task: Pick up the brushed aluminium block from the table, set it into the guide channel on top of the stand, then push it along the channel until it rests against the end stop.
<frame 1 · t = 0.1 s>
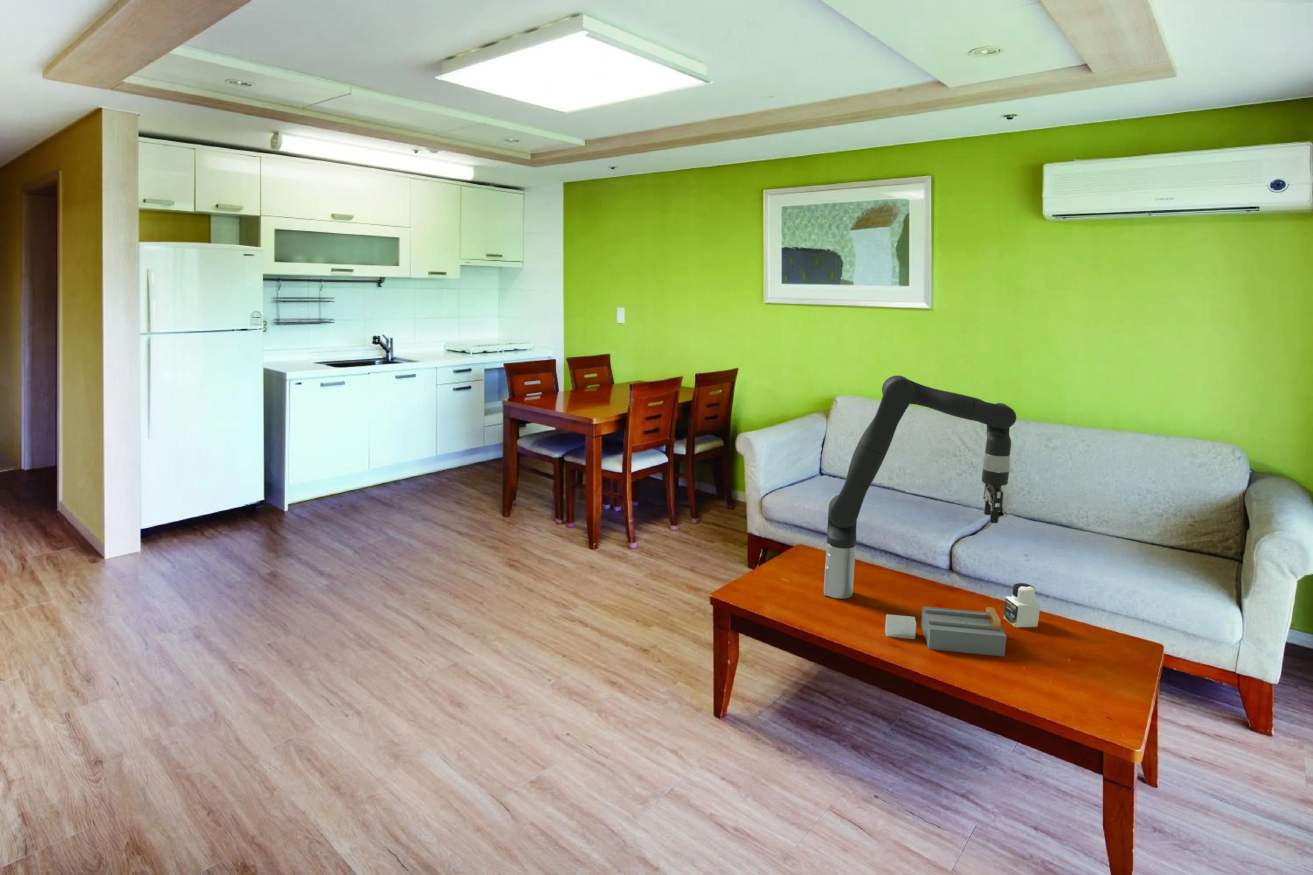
hand: (990, 518, 241), 29 cm above the table, tool pointing down, fingers open, 8 cm apart
channel stand: (961, 640, 223), on the table
aluminium block: (899, 634, 226), on the table
medicine bottle: (1020, 623, 235), on the table
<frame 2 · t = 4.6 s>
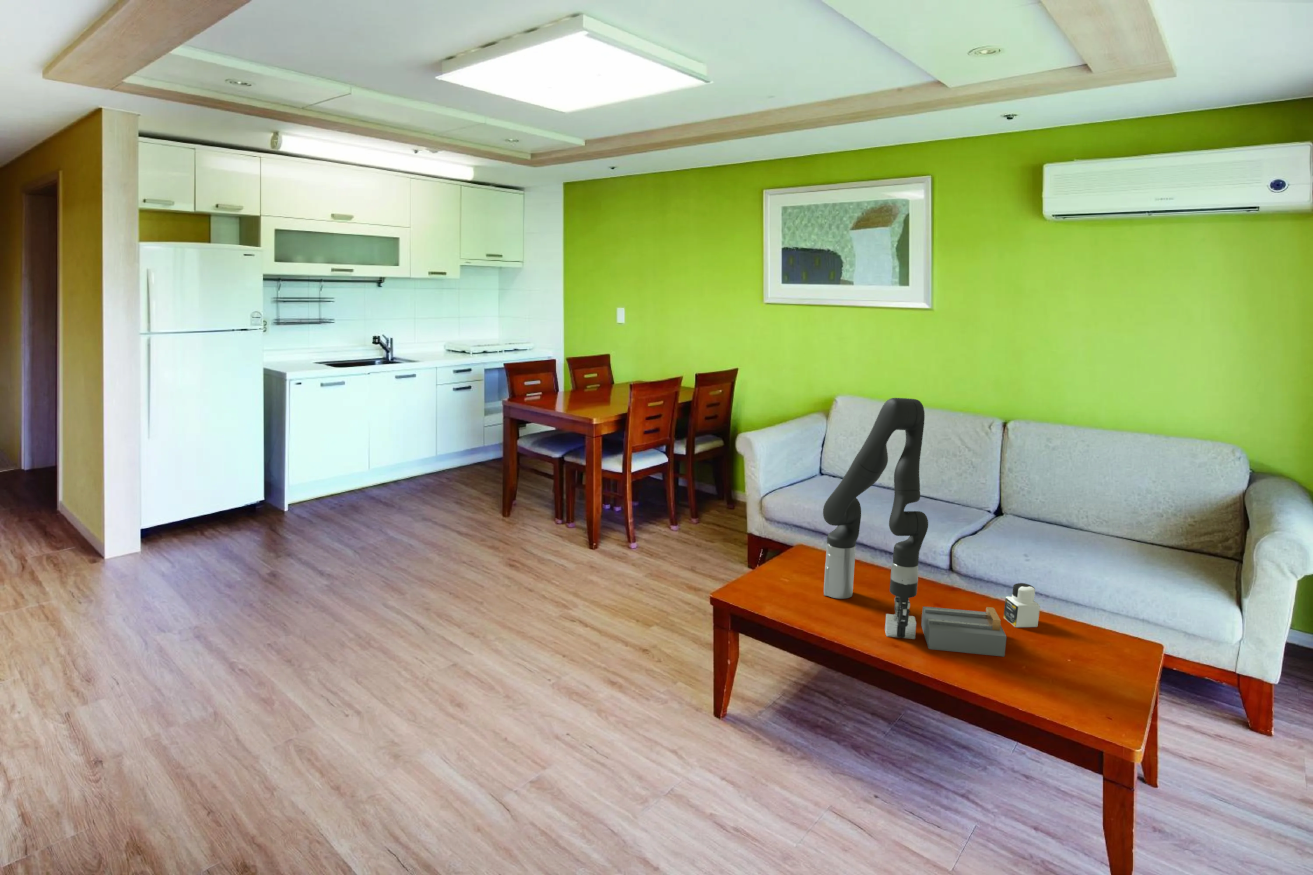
hand: (899, 632, 226), 0 cm above the table, tool pointing down, fingers closed on aluminium block, 4 cm apart
aluminium block: (899, 634, 226), on the table, touching gripper
everything else where it was.
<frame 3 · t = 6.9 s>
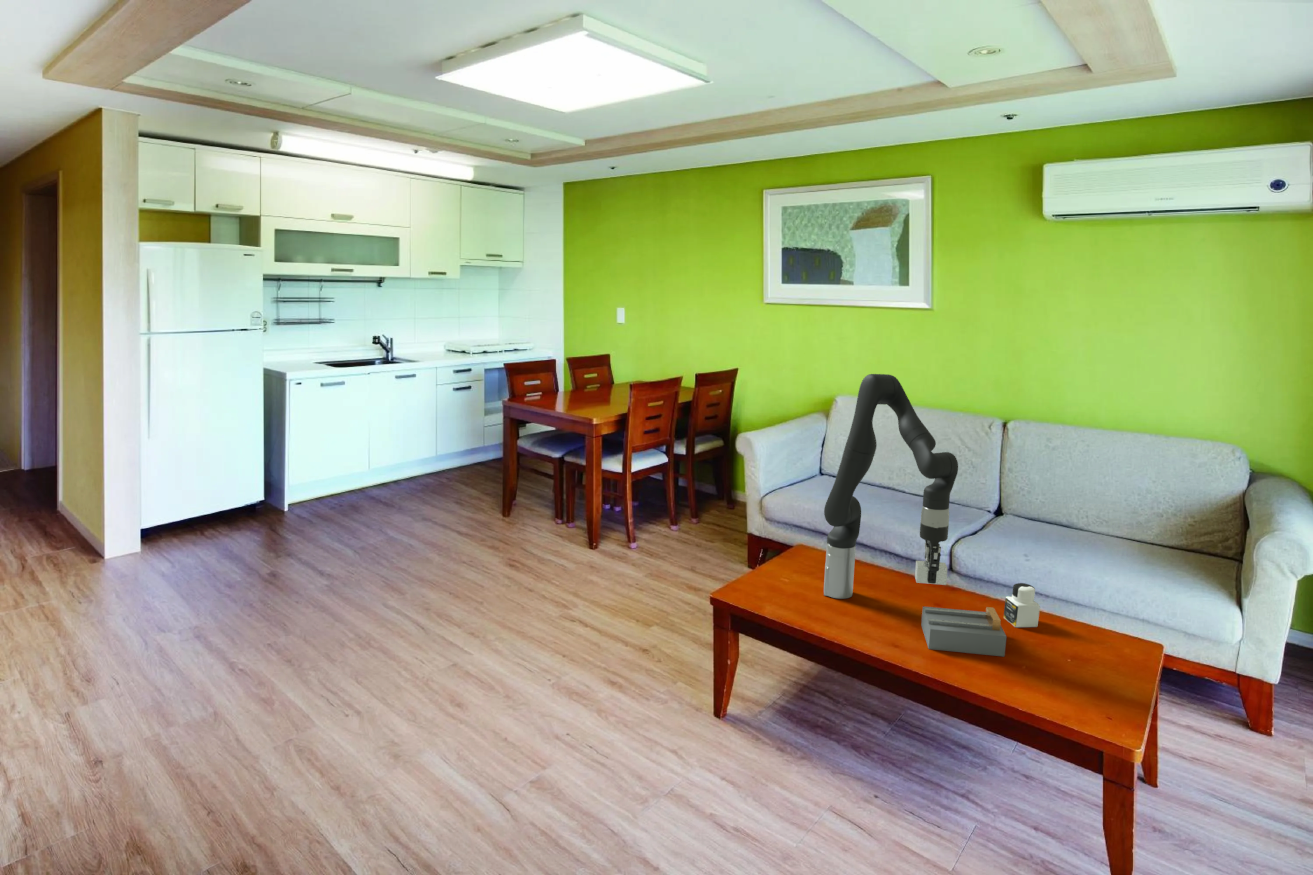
hand: (930, 579, 221), 18 cm above the table, tool pointing down, fingers closed on aluminium block, 4 cm apart
aluminium block: (930, 580, 221), point 17 cm above the table, touching gripper
everything else where it was.
when the fingers open (8 cm above the table, at t = 9.5 s): aluminium block drops 2 cm, resting on channel stand.
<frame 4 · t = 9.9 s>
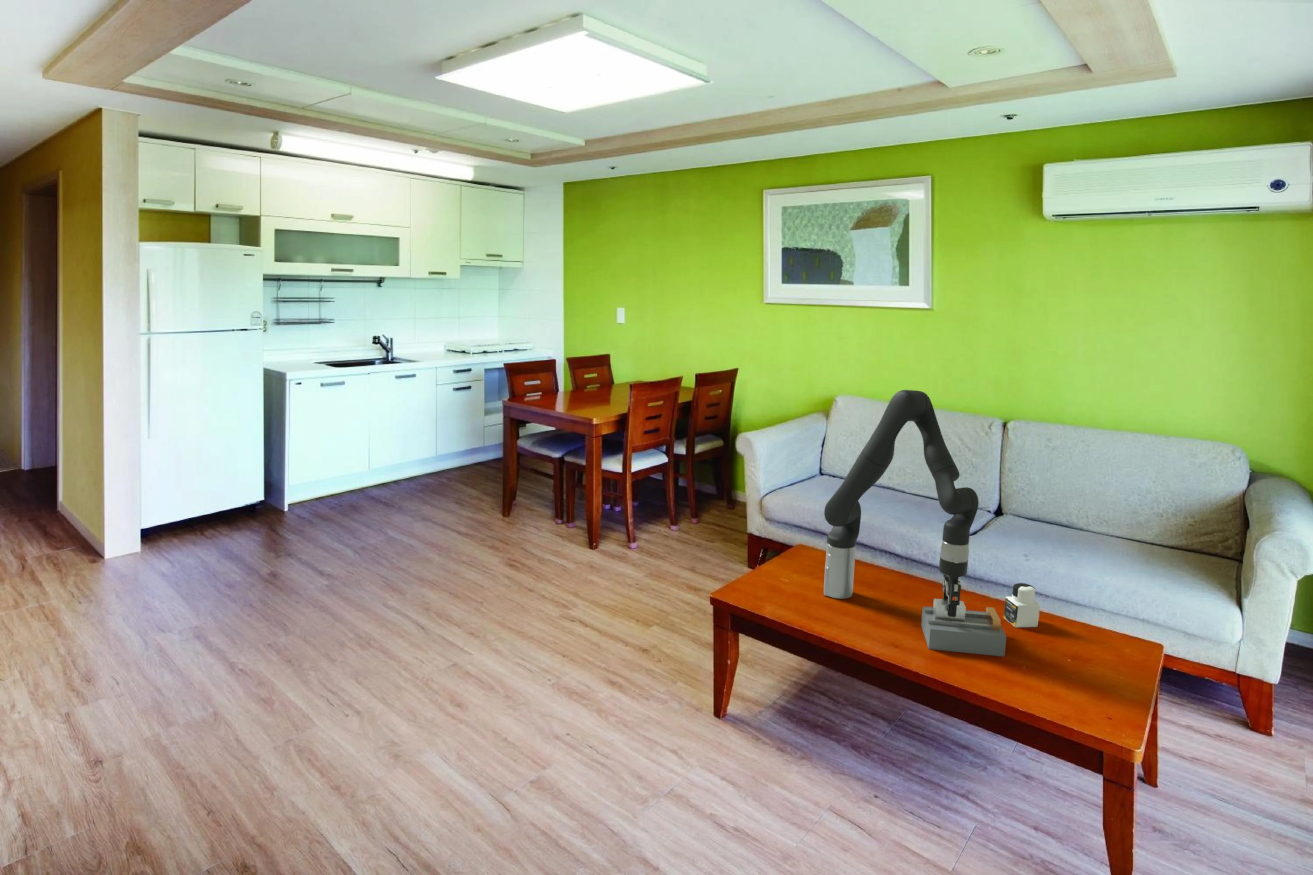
hand: (949, 610, 222), 9 cm above the table, tool pointing down, fingers open, 8 cm apart
aluminium block: (948, 619, 223), point 6 cm above the table, touching channel stand
everything else where it was.
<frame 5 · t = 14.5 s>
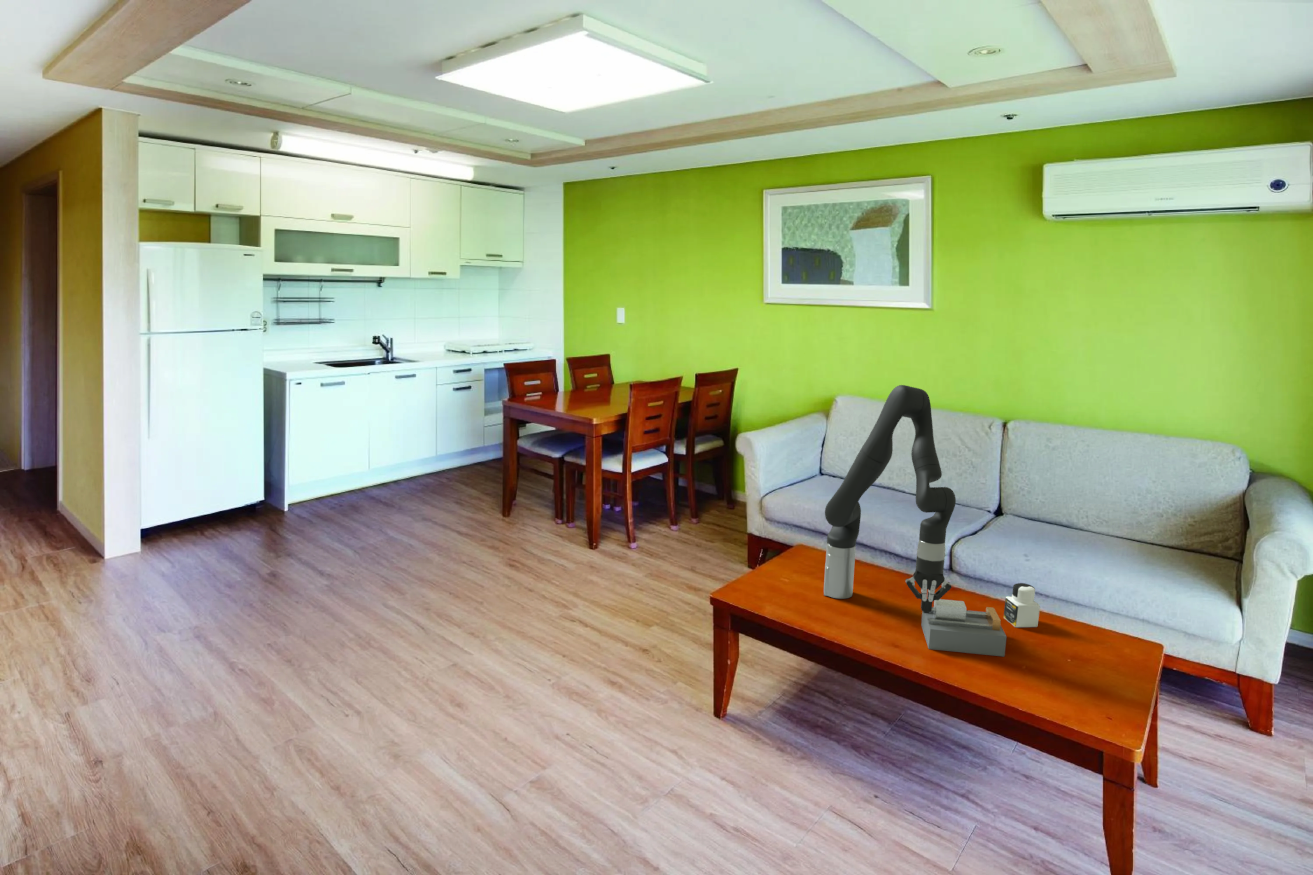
hand: (925, 612, 223), 8 cm above the table, tool pointing down, fingers closed
aluminium block: (948, 619, 223), point 6 cm above the table, touching channel stand, gripper
everything else where it was.
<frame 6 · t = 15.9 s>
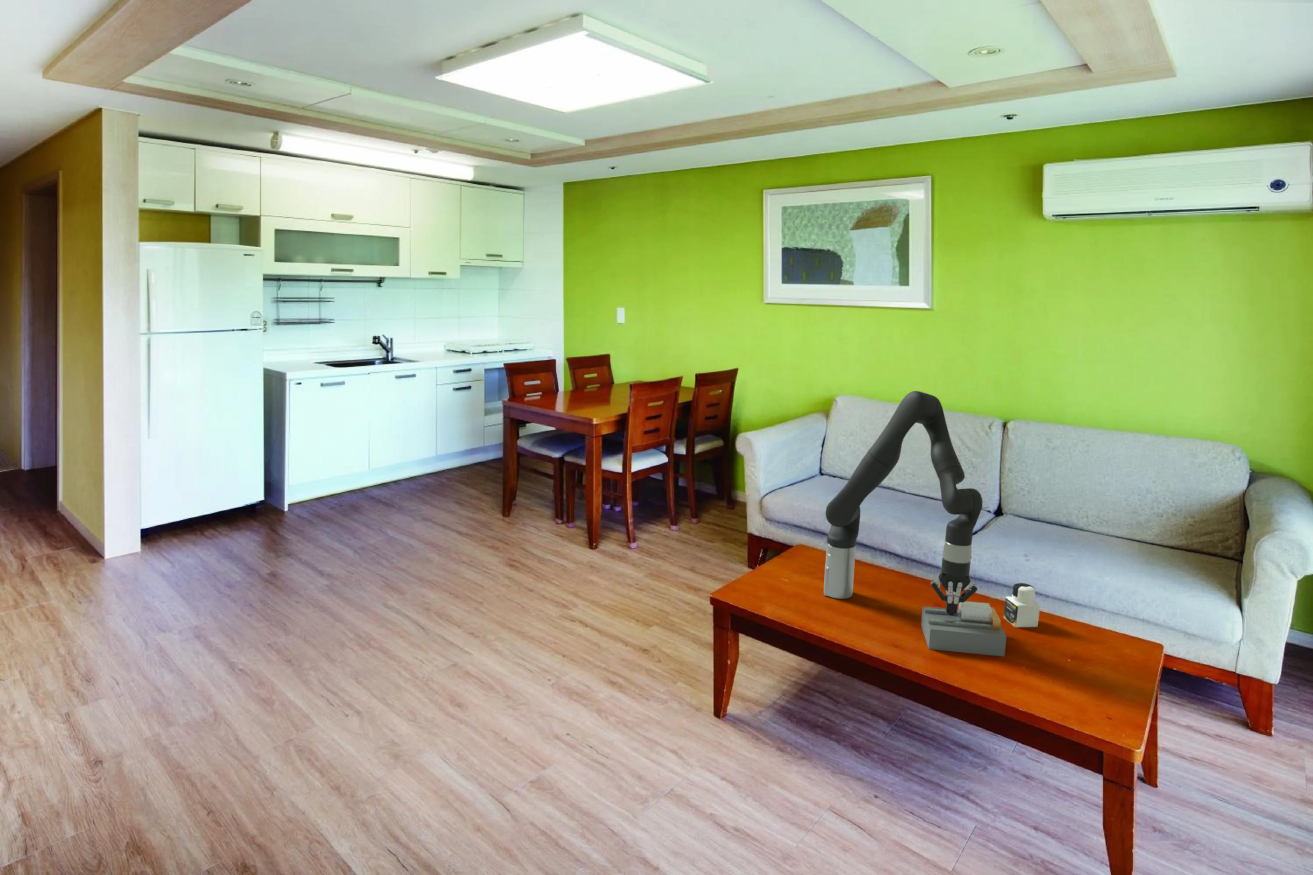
hand: (950, 614, 222), 8 cm above the table, tool pointing down, fingers closed
aluminium block: (973, 621, 221), point 6 cm above the table, touching channel stand, gripper
everything else where it was.
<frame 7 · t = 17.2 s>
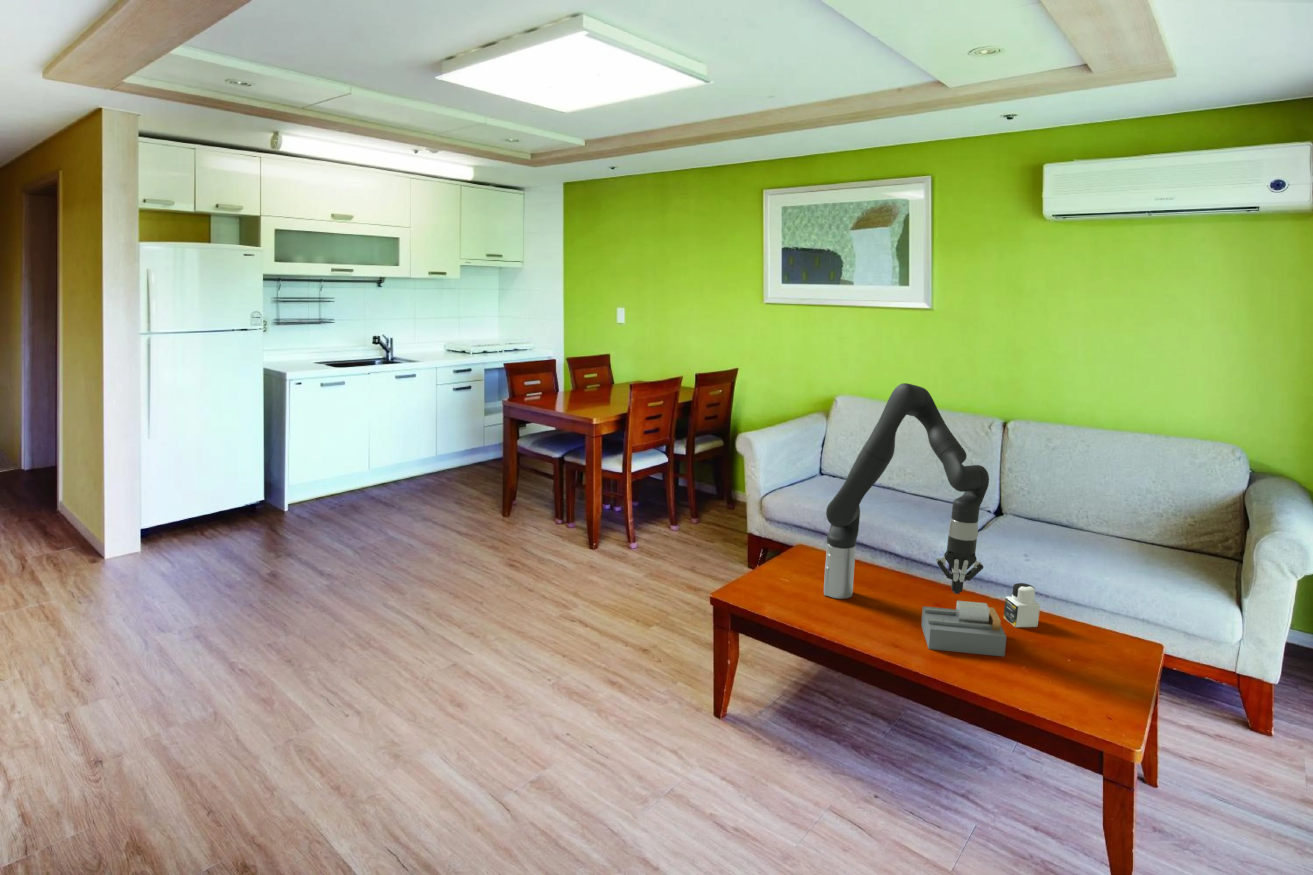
hand: (956, 592, 220), 14 cm above the table, tool pointing down, fingers closed
aluminium block: (971, 621, 221), point 6 cm above the table, touching channel stand
everything else where it was.
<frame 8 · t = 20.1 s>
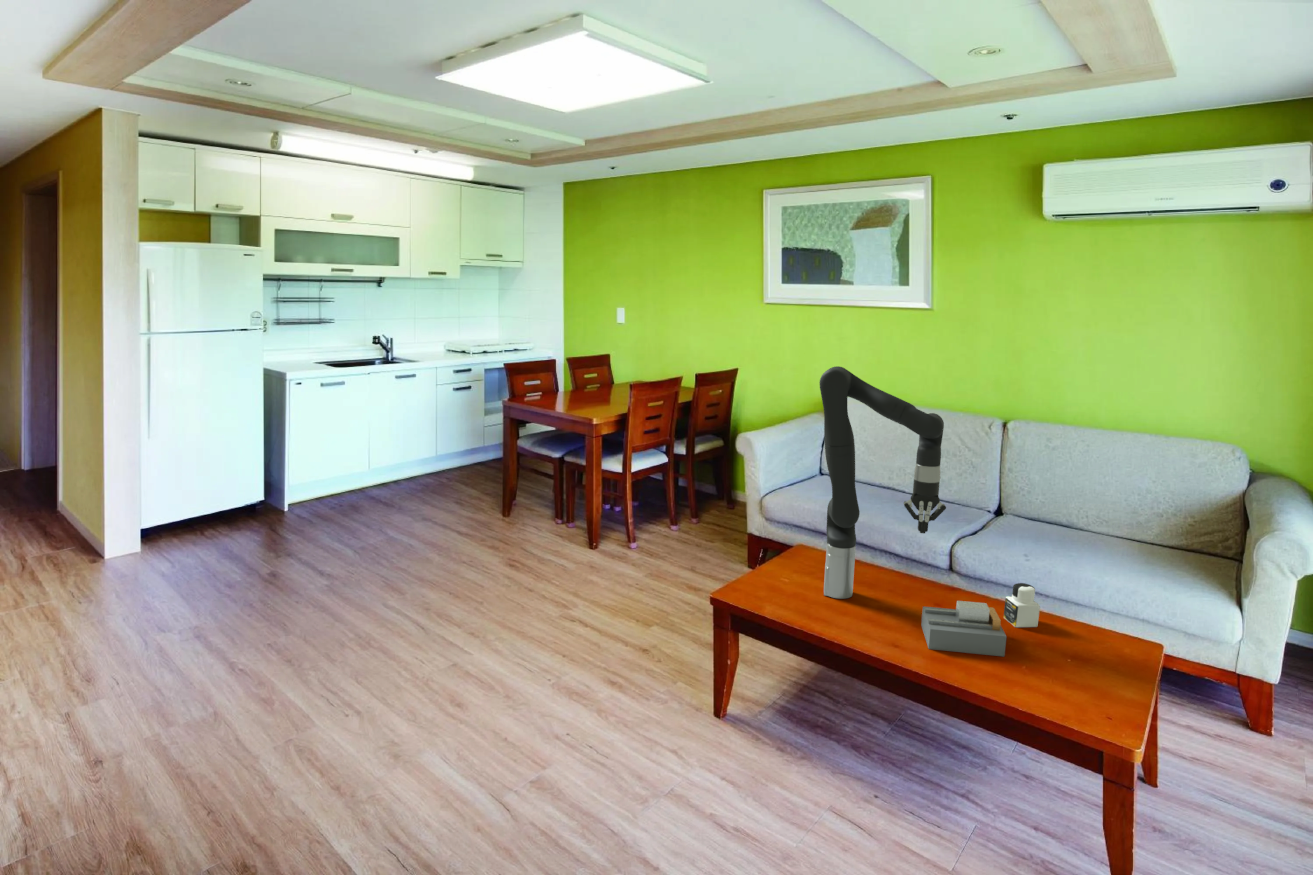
hand: (922, 532, 240), 25 cm above the table, tool pointing down, fingers closed
nothing on the table moved.
at the end: aluminium block 0.2 cm from the target spot on the channel stand, point 6.0 cm above the channel stand's base; aluminium block tilted 0°; the gripper is holding nothing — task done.
